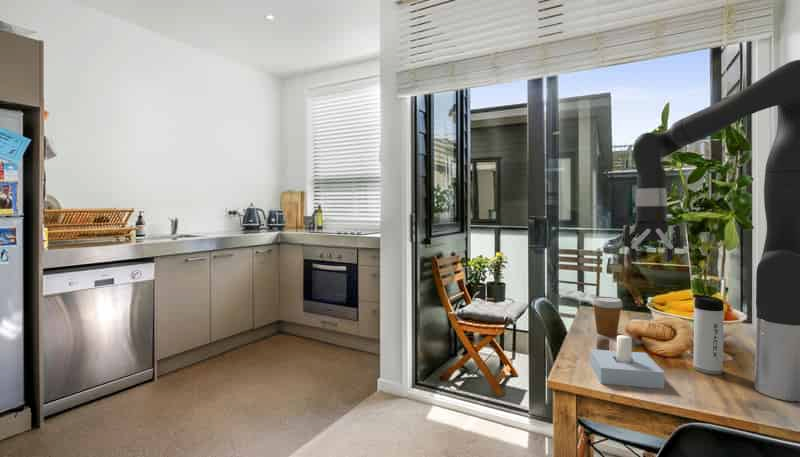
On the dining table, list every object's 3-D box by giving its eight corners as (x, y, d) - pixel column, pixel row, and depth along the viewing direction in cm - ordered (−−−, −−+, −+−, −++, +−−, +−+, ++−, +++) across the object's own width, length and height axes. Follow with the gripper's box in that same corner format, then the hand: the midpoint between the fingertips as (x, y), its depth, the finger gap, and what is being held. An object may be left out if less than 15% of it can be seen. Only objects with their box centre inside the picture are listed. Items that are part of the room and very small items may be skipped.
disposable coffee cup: (623, 331, 146) (623, 297, 145) (621, 339, 138) (622, 303, 137) (593, 327, 151) (593, 295, 150) (590, 335, 142) (590, 300, 142)
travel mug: (694, 363, 115) (695, 292, 114) (724, 370, 110) (726, 295, 110) (689, 370, 111) (690, 296, 110) (720, 377, 106) (722, 299, 105)
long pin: (628, 372, 110) (629, 335, 109) (632, 378, 106) (633, 339, 106) (614, 371, 111) (615, 334, 110) (618, 376, 107) (618, 338, 107)
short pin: (607, 353, 125) (607, 336, 124) (610, 357, 121) (610, 340, 121) (595, 352, 125) (595, 336, 125) (597, 356, 122) (598, 339, 122)
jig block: (645, 367, 113) (645, 352, 113) (664, 388, 100) (664, 372, 100) (589, 363, 117) (590, 349, 117) (600, 383, 103) (601, 367, 103)
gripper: (627, 205, 115) (626, 263, 116) (685, 204, 112) (684, 264, 113) (619, 205, 123) (619, 259, 124) (674, 204, 119) (673, 260, 120)
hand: (650, 261), depth 118 cm, fingers open, 8 cm apart
